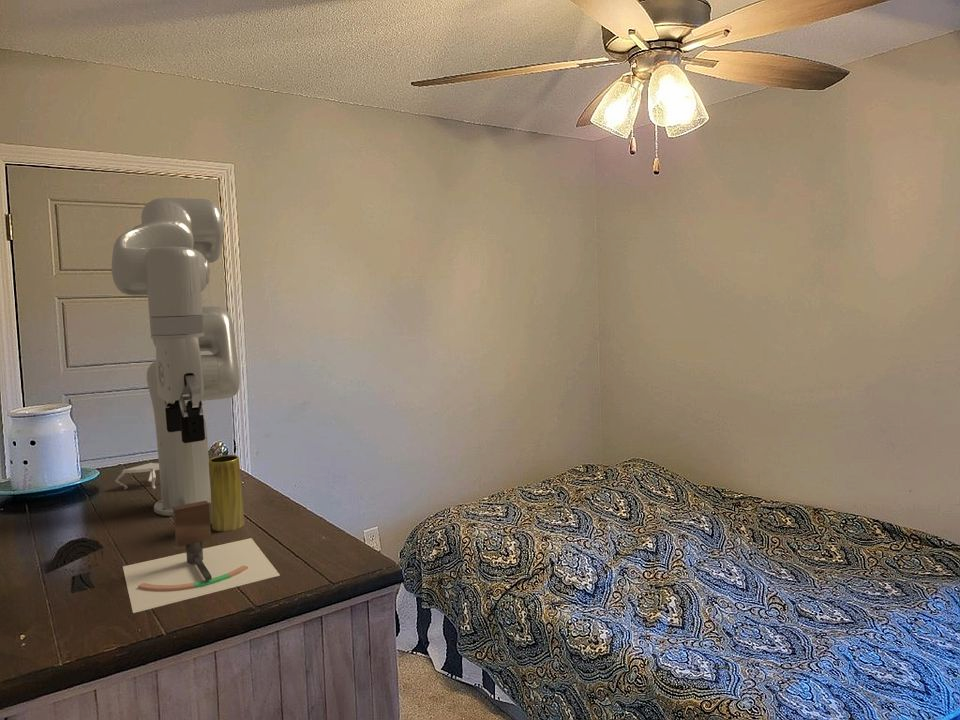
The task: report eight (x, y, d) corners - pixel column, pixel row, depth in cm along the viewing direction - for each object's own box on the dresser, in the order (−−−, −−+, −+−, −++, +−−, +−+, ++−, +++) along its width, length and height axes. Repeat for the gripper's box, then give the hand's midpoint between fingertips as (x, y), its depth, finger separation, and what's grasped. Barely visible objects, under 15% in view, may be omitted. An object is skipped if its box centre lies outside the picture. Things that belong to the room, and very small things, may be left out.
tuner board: (123, 575, 104) (122, 564, 104) (251, 546, 115) (251, 535, 115) (134, 623, 89) (132, 610, 89) (280, 584, 100) (280, 572, 99)
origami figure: (168, 477, 158) (166, 458, 158) (179, 485, 152) (177, 464, 152) (112, 488, 151) (111, 468, 150) (122, 497, 144) (120, 475, 144)
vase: (209, 541, 117) (203, 464, 116) (213, 529, 123) (208, 455, 122) (245, 537, 119) (239, 461, 117) (247, 525, 125) (242, 452, 123)
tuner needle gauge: (177, 561, 105) (172, 506, 104) (209, 553, 107) (205, 499, 106) (191, 587, 95) (186, 527, 94) (226, 578, 98) (222, 519, 97)
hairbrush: (49, 605, 90) (48, 539, 110) (51, 629, 90) (50, 559, 111) (117, 588, 94) (104, 528, 115) (119, 612, 95) (106, 548, 116)
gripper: (139, 327, 105) (148, 430, 107) (163, 331, 92) (173, 450, 94) (188, 324, 110) (196, 423, 112) (218, 328, 96) (226, 441, 98)
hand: (185, 435), depth 103 cm, fingers open, 9 cm apart
